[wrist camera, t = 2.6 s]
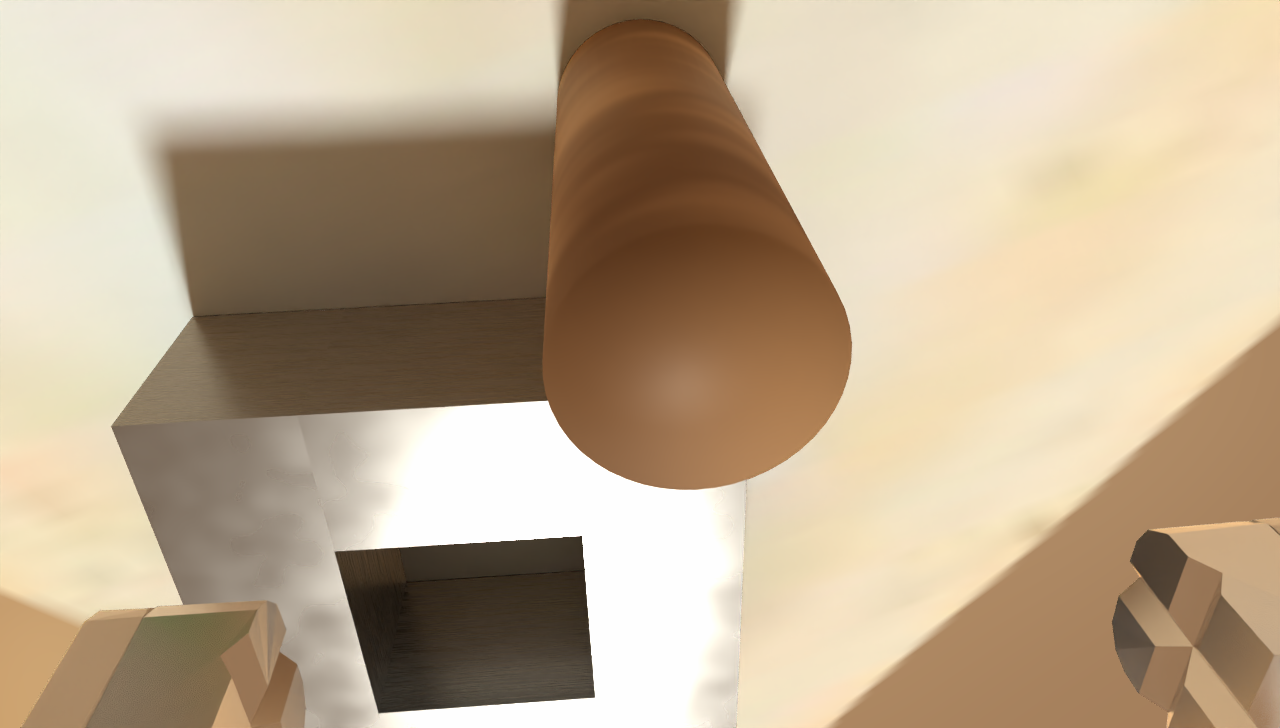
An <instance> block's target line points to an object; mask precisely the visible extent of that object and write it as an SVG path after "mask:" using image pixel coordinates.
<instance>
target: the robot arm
mask: <svg viewBox="0 0 1280 728" xmlns="http://www.w3.org/2000/svg"><path fill="white" fill-rule="evenodd" d="M1130 562H1131V564H1132V566H1133V567H1134V569H1135V570H1136V572H1137V573H1138V575H1139V578H1138V579H1137V580H1136V581H1135V582H1134V583H1133V584H1132V585H1131V586H1129V587H1128V588H1127V589H1126V590H1125V591H1124V592H1123V593H1122V594H1120V595H1119V597H1118V601H1117V605H1116V609H1115V613H1114V617H1113V621H1112V625H1113V633H1114V640H1115V649H1116V652H1117V654H1118V657H1119V659H1120V662H1121V664H1122V667H1123V669H1124V671H1125V673H1126V675H1127V676H1128V678H1129V679H1130V681H1131V683H1132V684H1133V686H1134V687H1135V689H1136V690H1137V692H1138V693H1139V694H1140V695H1142V696H1143V697H1145V698H1146V699H1148V700H1150V701H1151V702H1153V703H1154V704H1156V705H1158V706H1159V707H1161V708H1162V709H1164V710H1166V711H1167V712H1168V718H1167V728H1280V518H1269V519H1258V520H1252V521H1249V522H1244V521H1241V522H1230V523H1218V524H1207V525H1196V526H1186V527H1185V526H1184V527H1173V528H1162V529H1150V530H1147V531H1146V532H1145V533H1144V534H1143V536H1141V537H1140V538H1139V540H1138V541H1137V542H1136V545H1135V548H1134V551H1133V554H1132V557H1131V560H1130ZM285 633H286V627H285V625H284V622H283V619H282V616H281V614H280V611H279V608H278V606H277V604H276V603H273V602H270V601H267V600H262V601H244V602H227V603H209V604H191V605H173V606H157V607H156V608H144V609H123V610H102V611H99V612H97V613H96V614H94V615H93V616H92V617H90V618H89V619H87V620H86V621H85V622H84V623H83V624H82V626H81V627H80V629H79V631H78V632H77V634H76V636H75V637H74V639H73V641H72V643H71V644H70V646H69V647H68V649H67V651H66V652H65V654H64V656H63V657H62V659H61V661H60V662H59V664H58V666H57V667H56V669H55V671H54V673H53V674H52V676H51V677H50V679H49V681H48V682H47V684H46V686H45V687H44V689H43V691H42V692H41V694H40V696H39V697H38V699H37V701H36V702H35V704H34V706H33V707H32V709H31V711H30V712H29V714H28V716H27V717H26V719H25V720H24V722H23V724H22V726H21V727H20V728H304V725H305V712H306V704H305V695H304V687H303V681H302V678H301V675H300V671H299V668H298V665H297V664H296V663H295V662H293V661H292V660H291V659H289V658H288V657H286V656H285V655H284V654H282V653H281V652H279V651H280V648H281V645H282V642H283V639H284V636H285Z"/></svg>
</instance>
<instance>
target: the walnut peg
mask: <svg viewBox="0 0 1280 728" xmlns="http://www.w3.org/2000/svg"><path fill="white" fill-rule="evenodd" d="M851 351H852V341H851V333H850V325H849V322H848V318H847V315H846V311H845V308H844V306H843V304H842V302H841V300H840V298H839V295H838V293H837V291H836V289H835V288H834V286H833V284H832V282H831V280H830V278H829V276H828V275H827V273H826V271H825V269H824V267H823V265H822V263H821V261H820V260H819V258H818V256H817V254H816V252H815V250H814V248H813V247H812V245H811V243H810V241H809V239H808V237H807V235H806V234H805V232H804V230H803V228H802V226H801V224H800V222H799V220H798V219H797V217H796V215H795V213H794V211H793V209H792V207H791V206H790V204H789V202H788V200H787V198H786V196H785V194H784V193H783V191H782V189H781V187H780V185H779V183H778V181H777V179H776V178H775V176H774V174H773V172H772V170H771V168H770V166H769V165H768V163H767V161H766V159H765V157H764V155H763V153H762V152H761V150H760V148H759V146H758V144H757V142H756V140H755V138H754V137H753V135H752V133H751V131H750V129H749V127H748V125H747V124H746V122H745V120H744V118H743V116H742V114H741V112H740V110H739V109H738V107H737V105H736V103H735V101H734V99H733V97H732V96H731V94H730V92H729V90H728V88H727V86H726V84H725V83H724V81H723V79H722V77H721V75H720V73H719V71H718V69H717V68H716V66H715V64H714V62H713V60H712V59H711V57H710V56H709V54H708V53H707V51H706V50H705V49H704V48H703V47H702V45H701V44H700V43H699V42H698V41H696V40H695V39H694V38H693V37H692V36H691V35H689V34H687V33H686V32H684V31H683V30H681V29H679V28H677V27H675V26H673V25H670V24H667V23H664V22H660V21H654V20H642V19H637V20H628V21H624V22H620V23H616V24H613V25H611V26H608V27H606V28H604V29H602V30H600V31H599V32H597V33H595V34H594V35H593V36H591V37H590V38H589V39H587V40H586V41H585V42H584V43H583V44H582V45H581V46H580V47H579V48H578V49H577V51H576V52H575V53H574V55H573V56H572V57H571V59H570V61H569V62H568V64H567V66H566V68H565V70H564V73H563V75H562V78H561V82H560V85H559V90H558V98H557V115H556V132H555V149H554V167H553V184H552V202H551V219H550V237H549V254H548V271H547V289H546V306H545V324H544V341H543V359H542V365H543V382H544V387H545V393H546V397H547V400H548V403H549V406H550V408H551V411H552V413H553V415H554V417H555V419H556V421H557V423H558V425H559V426H560V428H561V429H562V430H563V432H564V433H565V435H566V436H567V437H568V439H569V440H570V441H571V442H572V443H573V444H574V445H575V446H576V447H577V448H578V449H579V450H580V451H581V452H582V453H583V454H584V455H585V456H587V457H588V458H589V459H590V460H592V461H593V462H594V463H596V464H597V465H599V466H601V467H602V468H604V469H606V470H607V471H609V472H611V473H613V474H615V475H618V476H620V477H622V478H624V479H627V480H630V481H633V482H636V483H639V484H642V485H647V486H652V487H657V488H663V489H674V490H699V489H708V488H717V487H721V486H726V485H730V484H735V483H738V482H741V481H744V480H747V479H750V478H753V477H755V476H757V475H759V474H762V473H764V472H766V471H769V470H770V469H772V468H774V467H776V466H777V465H779V464H781V463H782V462H784V461H786V460H787V459H788V458H790V457H791V456H793V455H794V454H795V453H797V452H798V451H799V450H801V449H802V448H803V447H804V446H805V445H806V444H807V443H808V442H809V441H810V440H811V439H813V438H814V436H815V435H816V434H817V433H818V432H819V431H820V429H821V428H822V427H823V426H824V425H825V423H826V422H827V420H828V419H829V417H830V416H831V414H832V413H833V411H834V410H835V408H836V406H837V404H838V402H839V400H840V398H841V396H842V394H843V391H844V388H845V385H846V382H847V379H848V375H849V370H850V364H851Z"/></svg>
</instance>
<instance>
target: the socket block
mask: <svg viewBox="0 0 1280 728" xmlns="http://www.w3.org/2000/svg"><path fill="white" fill-rule="evenodd" d="M545 306H546V298H533V299H515V300H496V301H478V302H459V303H441V304H422V305H404V306H385V307H366V308H348V309H329V310H311V311H292V312H274V313H255V314H237V315H218V316H200V317H192V318H191V320H190V321H189V322H188V324H187V325H186V326H185V328H184V329H183V330H182V332H181V333H180V335H179V336H178V337H177V339H176V340H175V341H174V343H173V344H172V345H171V347H170V348H169V349H168V351H167V352H166V353H165V355H164V356H163V357H162V359H161V360H160V361H159V363H158V364H157V365H156V367H155V368H154V369H153V371H152V372H151V374H150V375H149V376H148V378H147V379H146V380H145V382H144V383H143V384H142V386H141V387H140V388H139V390H138V391H137V392H136V394H135V395H134V396H133V398H132V399H131V400H130V402H129V403H128V404H127V406H126V407H125V408H124V410H123V411H122V412H121V414H120V415H119V417H118V418H117V419H116V421H115V422H114V423H113V425H112V426H111V427H112V430H113V432H114V434H115V437H116V439H117V442H118V444H119V447H120V449H121V452H122V454H123V457H124V459H125V462H126V464H127V467H128V469H129V472H130V474H131V477H132V479H133V481H134V484H135V486H136V489H137V491H138V494H139V496H140V499H141V501H142V504H143V506H144V509H145V511H146V514H147V516H148V519H149V521H150V524H151V526H152V528H153V531H154V533H155V536H156V538H157V541H158V543H159V546H160V548H161V551H162V553H163V556H164V558H165V561H166V563H167V566H168V568H169V571H170V573H171V575H172V578H173V580H174V583H175V585H176V588H177V590H178V593H179V595H180V598H181V600H182V603H183V605H191V604H209V603H227V602H244V601H262V600H267V601H270V602H273V603H276V604H277V606H278V608H279V611H280V614H281V616H282V619H283V622H284V625H285V627H286V633H285V636H284V639H283V642H282V645H281V648H280V651H279V652H281V653H282V654H284V655H285V656H286V657H288V658H289V659H291V660H292V661H293V662H295V663H296V664H297V665H298V668H299V671H300V675H301V678H302V681H303V687H304V695H305V704H306V712H305V725H304V728H737V704H738V680H739V656H740V631H741V607H742V582H743V558H744V534H745V509H746V485H747V480H744V481H741V482H738V483H735V484H730V485H726V486H721V487H717V488H708V489H699V490H674V489H663V488H657V487H652V486H647V485H642V484H639V483H636V482H633V481H630V480H627V479H624V478H622V477H620V476H618V475H615V474H613V473H611V472H609V471H607V470H606V469H604V468H602V467H601V466H599V465H597V464H596V463H594V462H593V461H592V460H590V459H589V458H588V457H587V456H585V455H584V454H583V453H582V452H581V451H580V450H579V449H578V448H577V447H576V446H575V445H574V444H573V443H572V442H571V441H570V440H569V439H568V437H567V436H566V435H565V433H564V432H563V430H562V429H561V428H560V426H559V425H558V423H557V421H556V419H555V417H554V415H553V413H552V411H551V408H550V406H549V403H548V400H547V397H546V393H545V387H544V382H543V365H542V359H543V341H544V324H545ZM570 536H582V538H583V550H584V563H585V571H575V572H560V573H545V574H529V575H514V576H499V577H483V578H468V579H453V580H437V581H422V582H406V578H405V573H404V569H403V564H402V560H401V555H400V551H399V547H413V546H429V545H444V544H460V543H476V542H491V541H507V540H523V539H538V538H554V537H570Z"/></svg>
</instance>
